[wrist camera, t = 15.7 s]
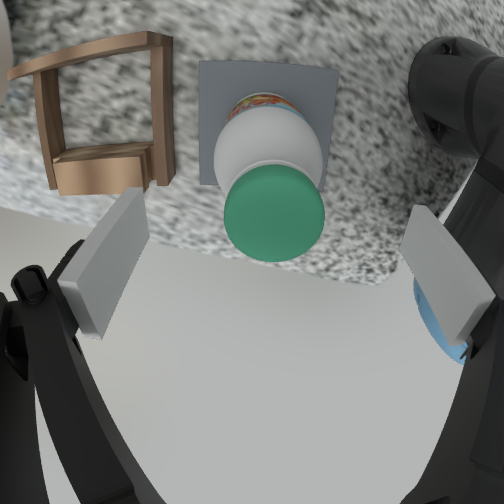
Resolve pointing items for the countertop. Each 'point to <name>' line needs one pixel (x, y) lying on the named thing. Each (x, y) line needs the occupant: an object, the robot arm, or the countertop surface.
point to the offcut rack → (114, 155)
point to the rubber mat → (254, 81)
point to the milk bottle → (270, 178)
